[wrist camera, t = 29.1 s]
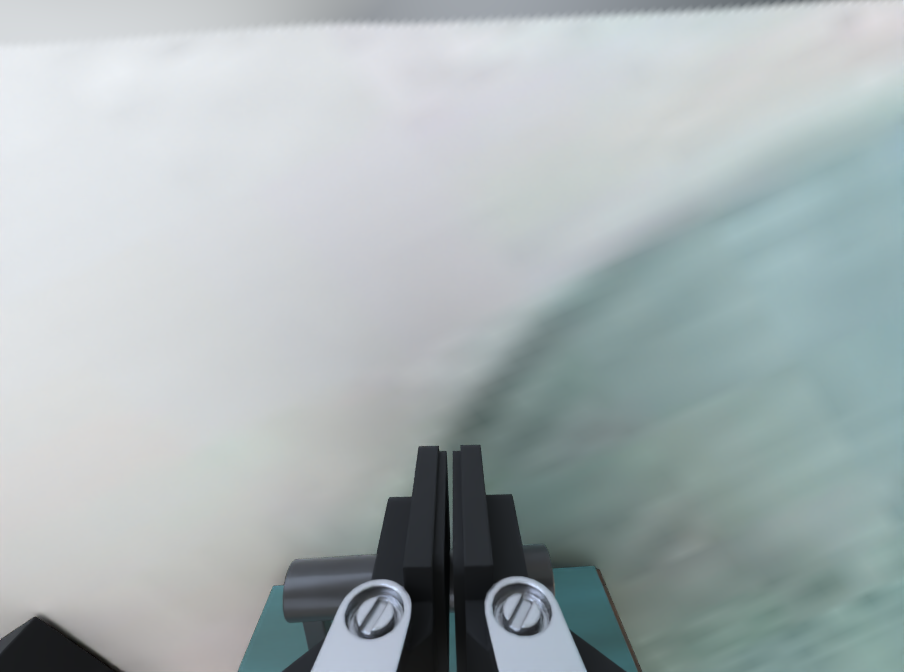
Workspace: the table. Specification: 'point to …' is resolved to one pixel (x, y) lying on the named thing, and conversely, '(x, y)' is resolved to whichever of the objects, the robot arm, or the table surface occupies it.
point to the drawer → (332, 578)
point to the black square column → (44, 651)
